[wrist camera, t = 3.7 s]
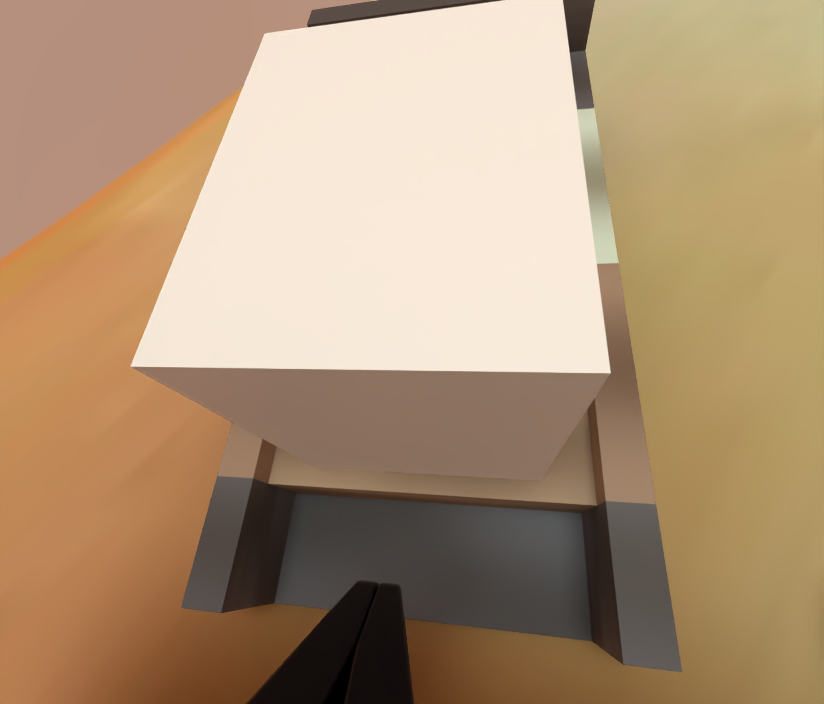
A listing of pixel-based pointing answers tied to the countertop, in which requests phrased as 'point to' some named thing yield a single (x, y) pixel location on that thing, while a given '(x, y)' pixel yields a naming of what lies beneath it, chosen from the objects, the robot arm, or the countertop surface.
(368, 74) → the block
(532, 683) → the countertop surface
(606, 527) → the box
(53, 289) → the countertop surface
